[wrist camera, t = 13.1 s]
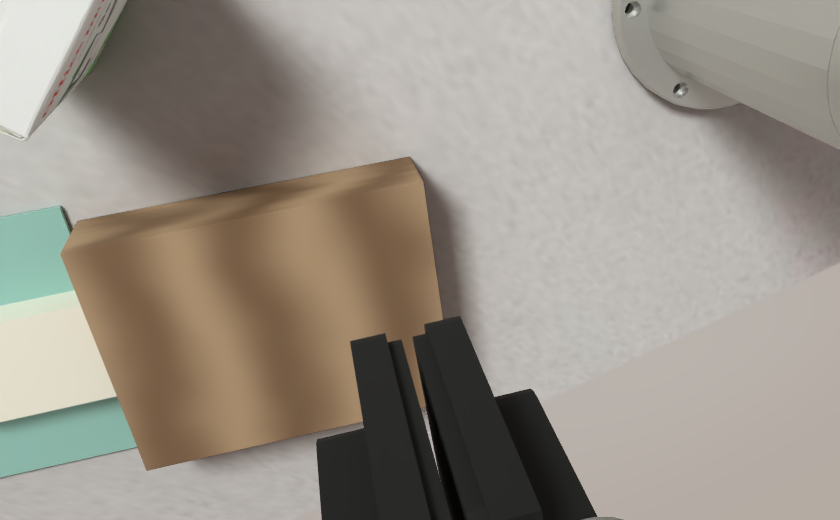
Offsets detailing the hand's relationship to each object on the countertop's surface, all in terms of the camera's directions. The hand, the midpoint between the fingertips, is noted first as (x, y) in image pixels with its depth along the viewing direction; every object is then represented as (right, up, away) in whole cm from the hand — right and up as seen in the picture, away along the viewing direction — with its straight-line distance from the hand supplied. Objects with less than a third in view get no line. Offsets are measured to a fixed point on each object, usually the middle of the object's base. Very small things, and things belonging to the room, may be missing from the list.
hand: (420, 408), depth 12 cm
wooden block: (-8, 0, +33) cm, 34 cm away
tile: (-22, -3, +32) cm, 38 cm away
